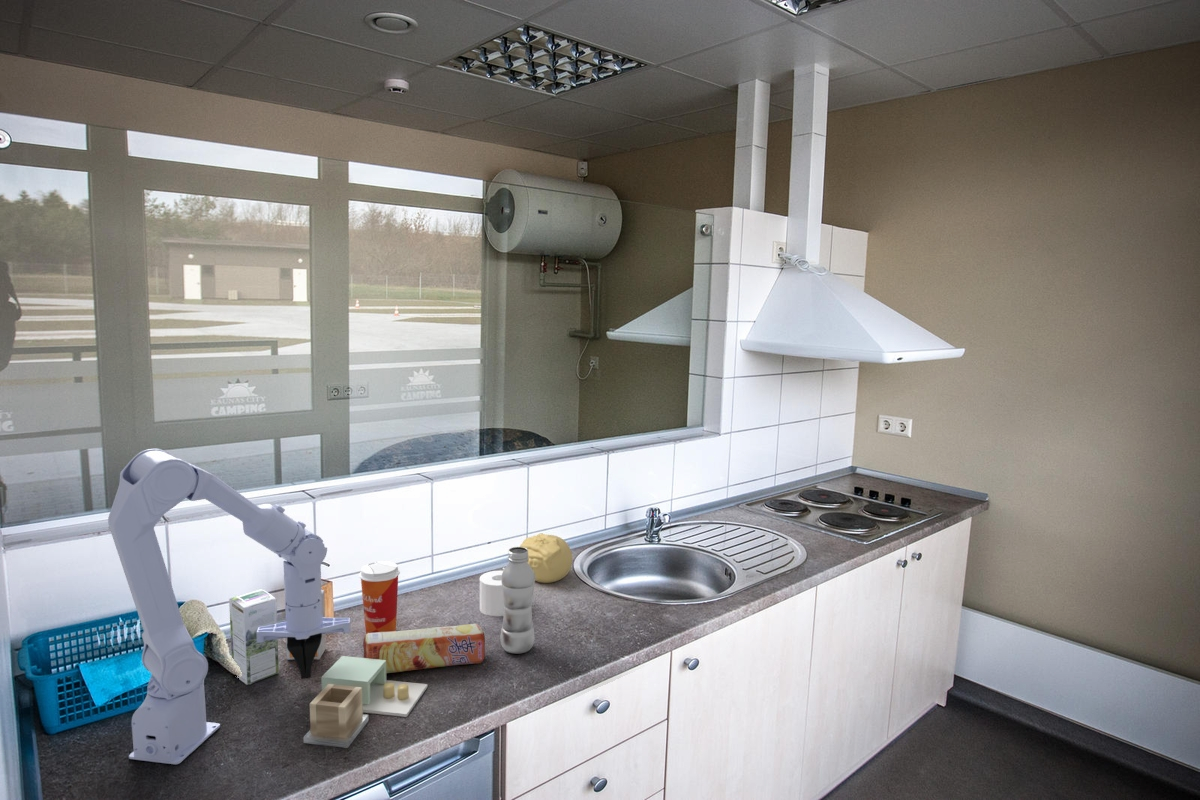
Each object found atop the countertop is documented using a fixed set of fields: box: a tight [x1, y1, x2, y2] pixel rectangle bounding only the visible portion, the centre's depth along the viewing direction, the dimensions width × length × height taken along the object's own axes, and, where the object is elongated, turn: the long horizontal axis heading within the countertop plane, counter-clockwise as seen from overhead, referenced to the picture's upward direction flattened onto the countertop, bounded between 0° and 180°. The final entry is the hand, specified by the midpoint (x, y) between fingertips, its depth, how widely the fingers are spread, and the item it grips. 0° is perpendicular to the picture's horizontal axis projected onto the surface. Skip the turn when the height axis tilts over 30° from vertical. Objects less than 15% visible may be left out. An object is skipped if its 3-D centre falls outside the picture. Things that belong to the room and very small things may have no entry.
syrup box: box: [228, 588, 280, 686], centre depth 126 cm, size 6×6×14 cm
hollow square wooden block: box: [309, 684, 364, 738], centre depth 111 cm, size 6×6×5 cm
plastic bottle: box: [499, 546, 536, 655], centre depth 136 cm, size 6×7×20 cm
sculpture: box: [519, 533, 573, 584], centre depth 172 cm, size 12×12×11 cm
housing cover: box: [321, 655, 387, 704], centre depth 121 cm, size 7×8×4 cm
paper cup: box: [358, 560, 401, 635], centre depth 142 cm, size 8×8×14 cm
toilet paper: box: [479, 567, 506, 617], centre depth 157 cm, size 8×11×7 cm
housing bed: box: [362, 679, 428, 718], centre depth 121 cm, size 9×15×2 cm, turn 82°
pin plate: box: [302, 713, 370, 749], centre depth 111 cm, size 7×7×4 cm
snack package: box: [362, 623, 486, 674], centre depth 131 cm, size 21×7×7 cm, turn 108°
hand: (306, 675), depth 122 cm, fingers closed
